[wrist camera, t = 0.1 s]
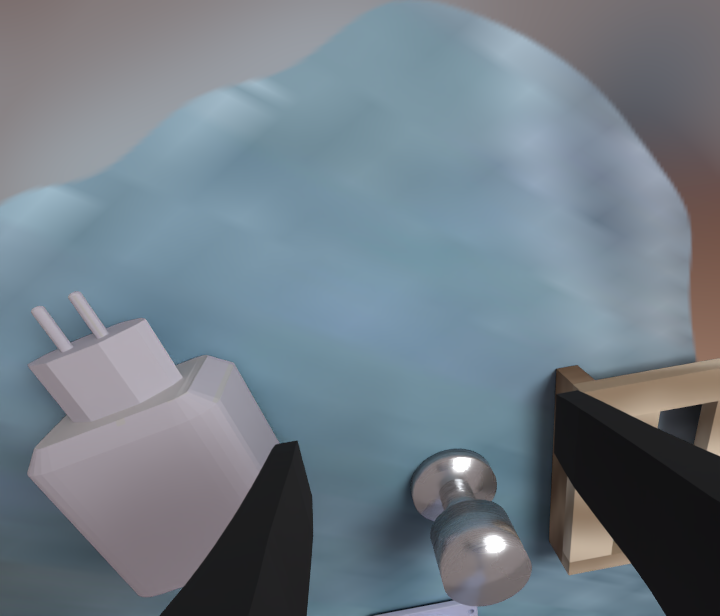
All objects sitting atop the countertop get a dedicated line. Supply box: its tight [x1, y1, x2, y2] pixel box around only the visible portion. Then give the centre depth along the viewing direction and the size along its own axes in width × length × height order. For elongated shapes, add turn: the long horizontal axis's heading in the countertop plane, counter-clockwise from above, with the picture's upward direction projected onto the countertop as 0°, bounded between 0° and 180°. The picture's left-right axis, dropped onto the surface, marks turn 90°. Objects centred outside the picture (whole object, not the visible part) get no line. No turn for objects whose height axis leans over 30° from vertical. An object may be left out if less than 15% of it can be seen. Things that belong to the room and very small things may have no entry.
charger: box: [27, 291, 280, 597], centre depth 19 cm, size 5×9×15 cm
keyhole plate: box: [549, 358, 720, 575], centre depth 24 cm, size 14×12×2 cm
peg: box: [410, 449, 532, 606], centre depth 22 cm, size 5×5×6 cm
